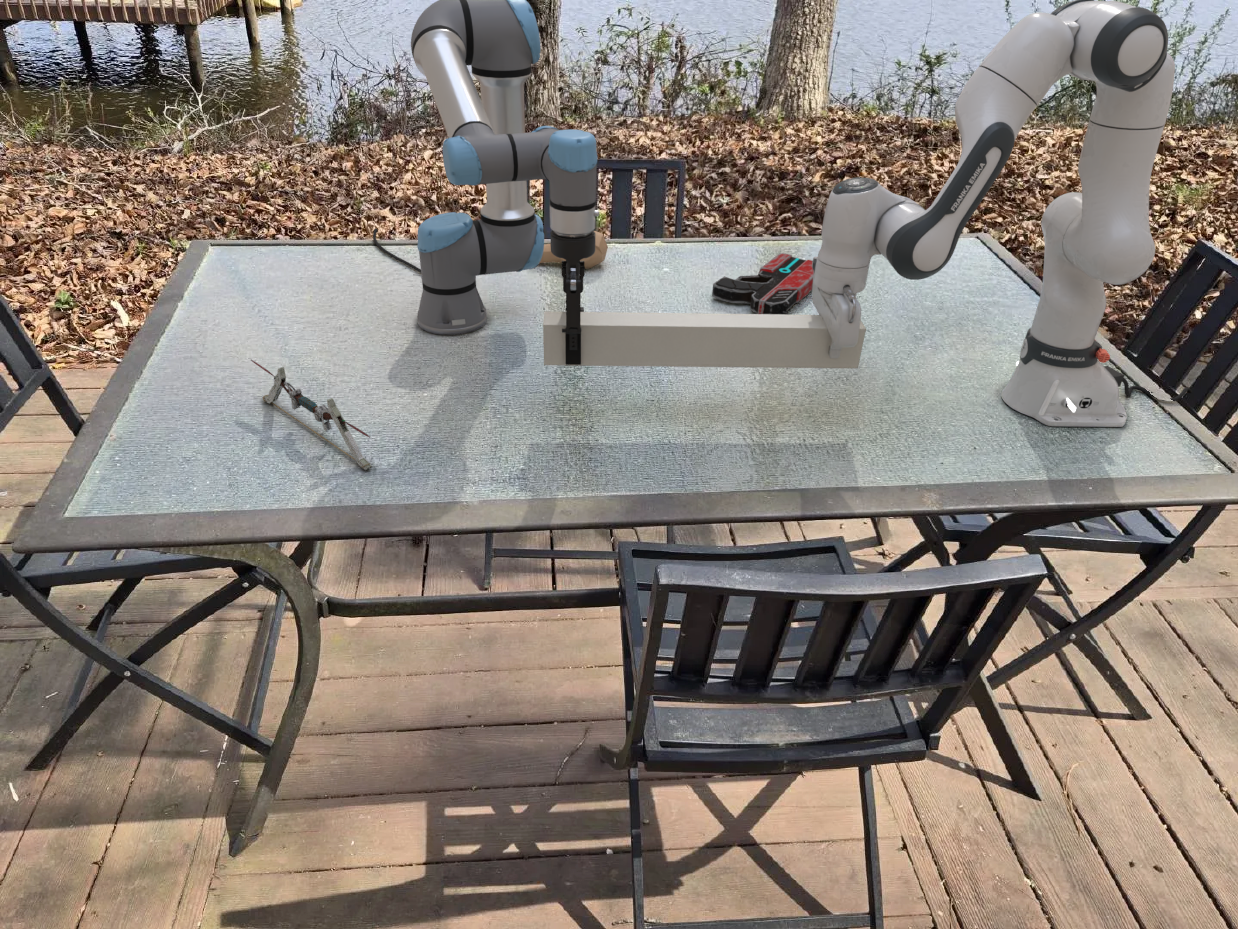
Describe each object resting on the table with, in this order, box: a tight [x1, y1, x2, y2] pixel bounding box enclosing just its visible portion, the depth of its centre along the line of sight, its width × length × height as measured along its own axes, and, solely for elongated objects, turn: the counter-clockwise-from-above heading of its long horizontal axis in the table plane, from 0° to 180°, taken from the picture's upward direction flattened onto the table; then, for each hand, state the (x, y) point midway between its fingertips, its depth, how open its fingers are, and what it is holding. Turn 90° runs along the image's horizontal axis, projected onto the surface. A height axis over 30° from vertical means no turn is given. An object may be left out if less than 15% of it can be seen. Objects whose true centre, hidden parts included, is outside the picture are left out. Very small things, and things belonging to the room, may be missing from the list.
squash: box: [539, 230, 609, 270], centre depth 226 cm, size 11×20×9 cm, turn 90°
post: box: [542, 311, 867, 370], centre depth 158 cm, size 57×6×8 cm, turn 92°
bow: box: [250, 359, 373, 471], centre depth 154 cm, size 39×2×10 cm, turn 47°
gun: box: [711, 252, 814, 315], centre depth 215 cm, size 4×31×19 cm
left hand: (573, 355), depth 158 cm, fingers closed on post, 6 cm apart
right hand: (828, 347), depth 159 cm, fingers closed on post, 5 cm apart
